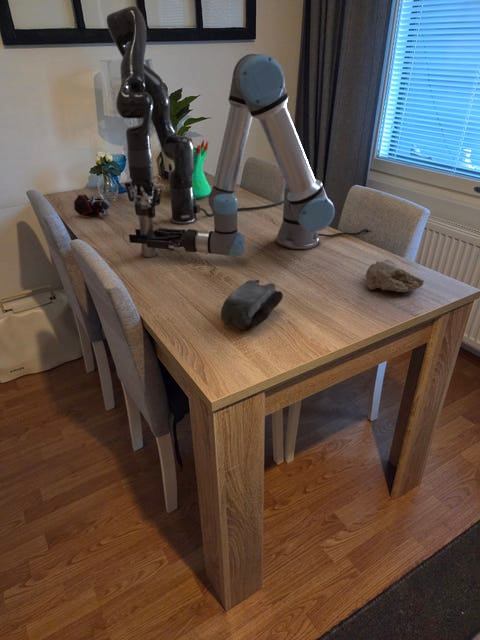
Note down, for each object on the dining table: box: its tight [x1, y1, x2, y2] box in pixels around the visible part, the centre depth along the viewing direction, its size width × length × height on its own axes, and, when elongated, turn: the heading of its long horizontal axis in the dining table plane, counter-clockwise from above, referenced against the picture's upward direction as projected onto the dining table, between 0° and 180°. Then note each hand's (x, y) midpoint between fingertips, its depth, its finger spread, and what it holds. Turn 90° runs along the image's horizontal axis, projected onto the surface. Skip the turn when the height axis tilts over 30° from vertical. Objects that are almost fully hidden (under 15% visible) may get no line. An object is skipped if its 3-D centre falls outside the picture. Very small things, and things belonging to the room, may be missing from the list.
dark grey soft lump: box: [220, 279, 284, 332], centre depth 117 cm, size 18×11×8 cm, turn 152°
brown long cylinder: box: [138, 214, 157, 258], centre depth 151 cm, size 4×4×16 cm
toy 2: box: [168, 137, 212, 200], centre depth 210 cm, size 20×20×25 cm
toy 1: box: [73, 194, 111, 220], centre depth 187 cm, size 12×9×15 cm
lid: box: [137, 204, 149, 215], centre depth 147 cm, size 5×5×2 cm
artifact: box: [365, 259, 424, 293], centre depth 134 cm, size 18×8×15 cm
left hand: (145, 215), depth 148 cm, fingers closed on lid, 5 cm apart
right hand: (133, 235), depth 153 cm, fingers closed on brown long cylinder, 4 cm apart
